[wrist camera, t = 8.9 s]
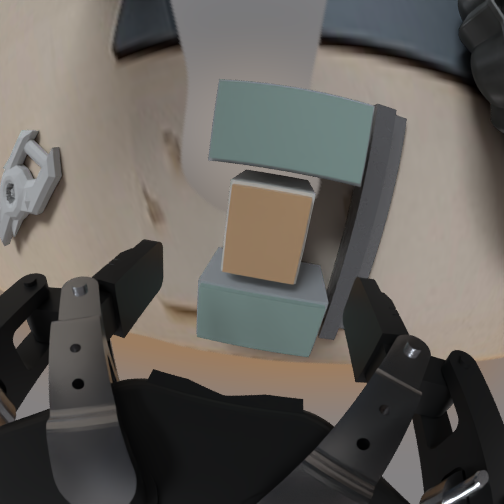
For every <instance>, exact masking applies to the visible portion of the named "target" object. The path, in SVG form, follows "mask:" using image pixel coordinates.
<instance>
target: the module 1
mask: <svg viewBox="0 0 504 504" xmlns="http://www.w3.org/2000/svg"><path fill="white" fill-rule="evenodd" d="M374 107H375V106H373V105H370V104H366V103H363V102H359V101H356V100H352V99H348V98H344V97H340V96H336V95H332V94H327V93H323V92H318V91H313V90H308V89H302V88H297V87H291V86H284V85H277V84H269V83H261V82H252V81H240V80H225V79H219V84H218V90H217V97H216V104H215V111H214V119H213V125H212V133H211V141H210V149H209V157H208V160H211V161H220V162H228V163H235V164H243V165H250V166H257V167H263V168H269V169H276V170H281V171H287V172H293V173H298V174H303V175H308V176H313V177H318V178H323V179H328V180H332V181H337V182H341V183H346V184H350V185H354V186H359V187H360V186H361V182H362V177H363V172H364V167H365V162H366V157H367V151H368V146H369V140H370V134H371V128H372V121H373V114H374Z"/></svg>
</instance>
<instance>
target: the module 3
mask: <svg viewBox="0 0 504 504" xmlns="http://www.w3.org/2000/svg"><path fill="white" fill-rule="evenodd" d="M222 253H223V248H221V247H219V248H218V249H217V251H216V252H215V254H214V256H213V257H212V259H211V260H210V262H209V264H208V265H207V267H206V268H205V270H204V272H203V273H202V275H201V276H200V278H199V280H198V302H197V337H200V338H205V339H209V340H213V341H218V342H223V343H227V344H232V345H237V346H242V347H248V348H253V349H259V350H264V351H270V352H276V353H283V354H289V355H296V356H304V357H309V355H310V353H311V351H312V348H313V345H314V343H315V340H316V337H317V335H318V332H319V329H320V326H321V323H322V321H323V318H324V315H325V312H326V309H327V306H328V298H327V294H326V289H325V284H324V280H323V275H322V271H321V266H320V265H316V264H310V263H305V262H301V264H300V268H299V272H298V276H297V280H296V284H293V285H292V284H287V283H281V282H275V281H270V280H264V279H259V278H253V277H248V276H242V275H237V274H232V273H226V272H222V271H221V263H222Z"/></svg>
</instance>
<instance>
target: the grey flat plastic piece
mask: <svg viewBox="0 0 504 504" xmlns="http://www.w3.org/2000/svg"><path fill="white" fill-rule="evenodd" d="M37 133H38V131H36V130H22V131H21V133H20V135H19V137H18V139H17V141H16V144H15V146H14V148H13V150H12V153H11V155H10V158H9V159H8V161H7V163H6V164H5V166H4V167H3V168H4V169H5V171H4V173H3V176H2V180H1V186H0V238H1V240H2V242H3V244H4V246H6V245H8V244H10V242H11V239H12V236H13V235H14V237H15V236H16V235H17V232H18V230H19V228H20V226H21V223H22V221H23V219H24V218H26V217H27V216H28V214H34V215H38V214H40V213H43V211H44V209H45V207H46V205H47V203H48V201H49V199H50V197H51V195H52V193H53V191H54V189H55V187H56V185H57V184H58V182H59V180H60V178H61V176H62V173H61V163H60V152H59V147H54V148H52V149H51V151H50V153H49V154H48V153H47V152H46V151H45V150H44V149H43V148H42V147H40V146H39V145H38V144H37V143H36V142H35V141H34V139H35V137H36V135H37ZM27 154H28V155H29V156H30V157H31V158H32V159H33V160H34V161H35V162H36V163H37V164H38V165H39V166H40V167H41V170H40V172H39V174H38V176H37V178H36V179H33V177H32V175H31V173H30V171H29V169H28V168H27V167H26V166H24V165H23V162H24V160H25V158H26V155H27Z"/></svg>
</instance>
